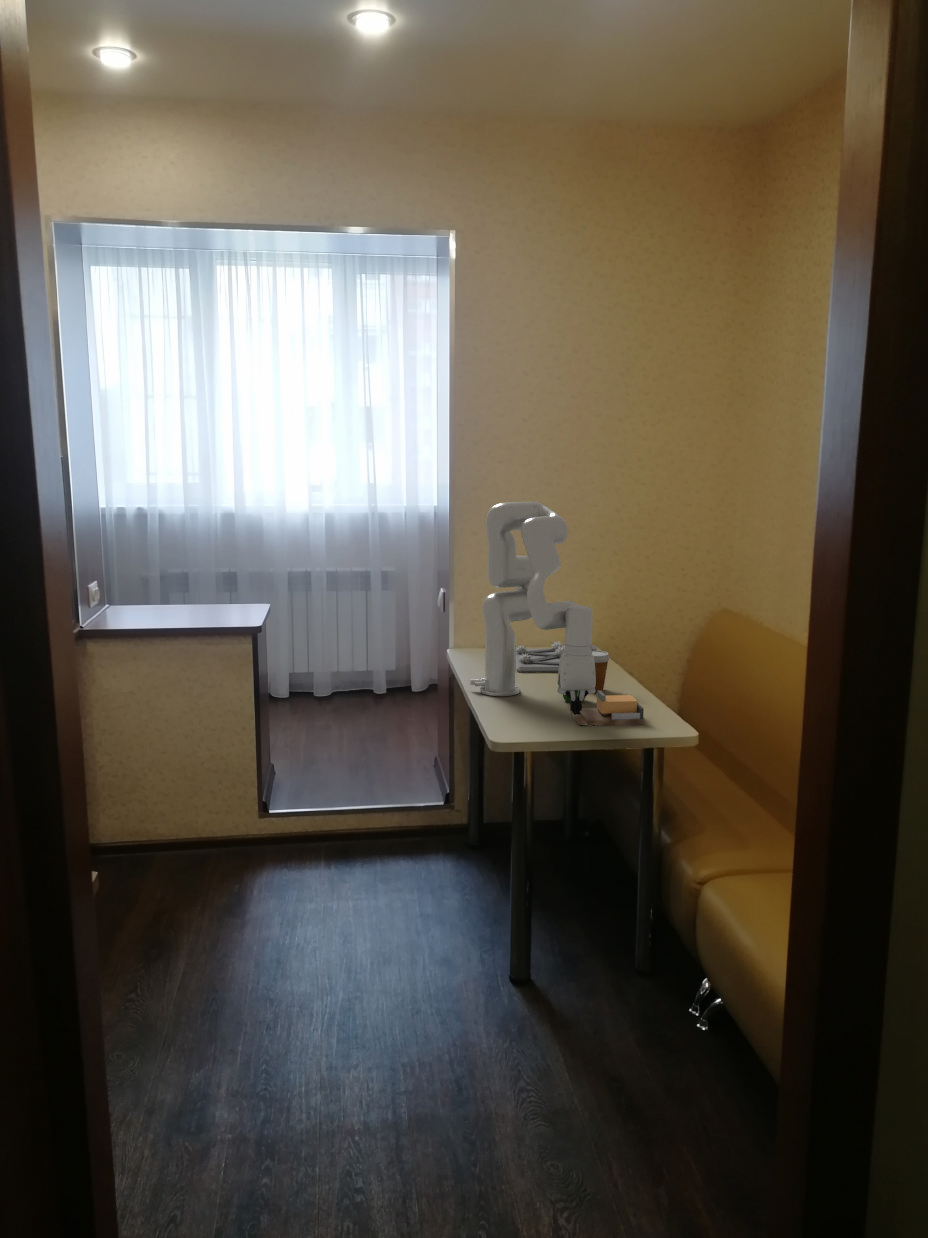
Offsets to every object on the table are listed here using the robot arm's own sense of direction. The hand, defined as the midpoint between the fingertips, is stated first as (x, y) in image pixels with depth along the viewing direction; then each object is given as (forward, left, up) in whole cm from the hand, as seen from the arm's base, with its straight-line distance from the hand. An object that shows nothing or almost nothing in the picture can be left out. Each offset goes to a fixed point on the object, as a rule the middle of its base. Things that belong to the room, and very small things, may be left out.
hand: (575, 713), depth 264 cm
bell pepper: (+4, +20, -2) cm, 20 cm away
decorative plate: (+4, +70, -3) cm, 70 cm away
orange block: (+12, 0, 0) cm, 12 cm away
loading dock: (+9, 0, -2) cm, 9 cm away
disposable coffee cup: (+13, +32, -2) cm, 35 cm away
